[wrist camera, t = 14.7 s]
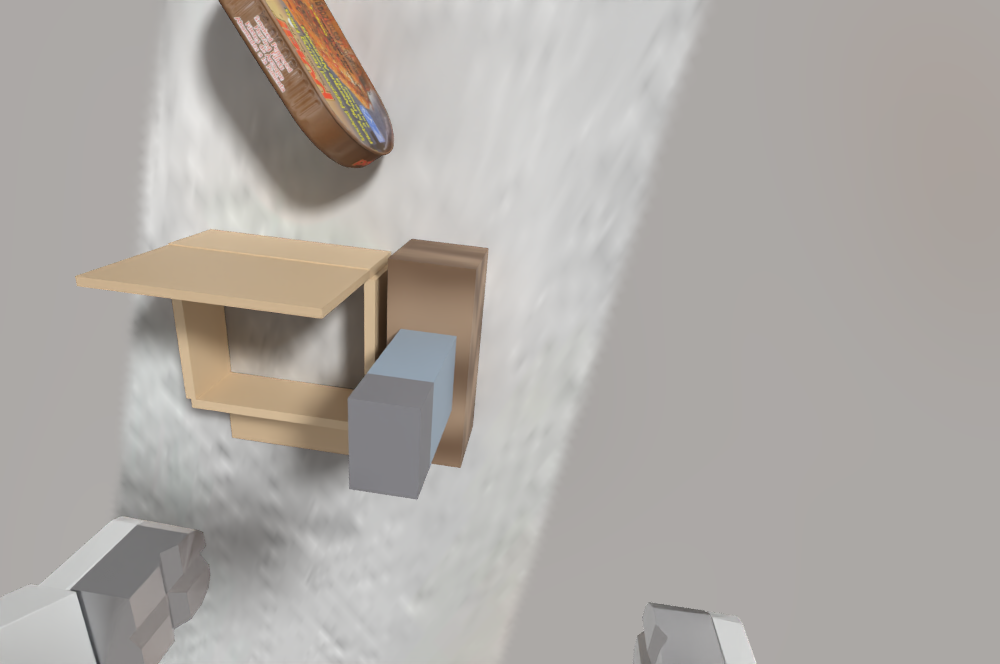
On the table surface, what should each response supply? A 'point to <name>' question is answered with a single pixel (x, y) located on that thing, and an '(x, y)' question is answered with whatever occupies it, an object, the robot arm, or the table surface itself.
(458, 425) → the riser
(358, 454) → the blue-grey rectangular block
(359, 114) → the tin
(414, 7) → the table surface
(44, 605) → the robot arm
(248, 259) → the light wooden open box
